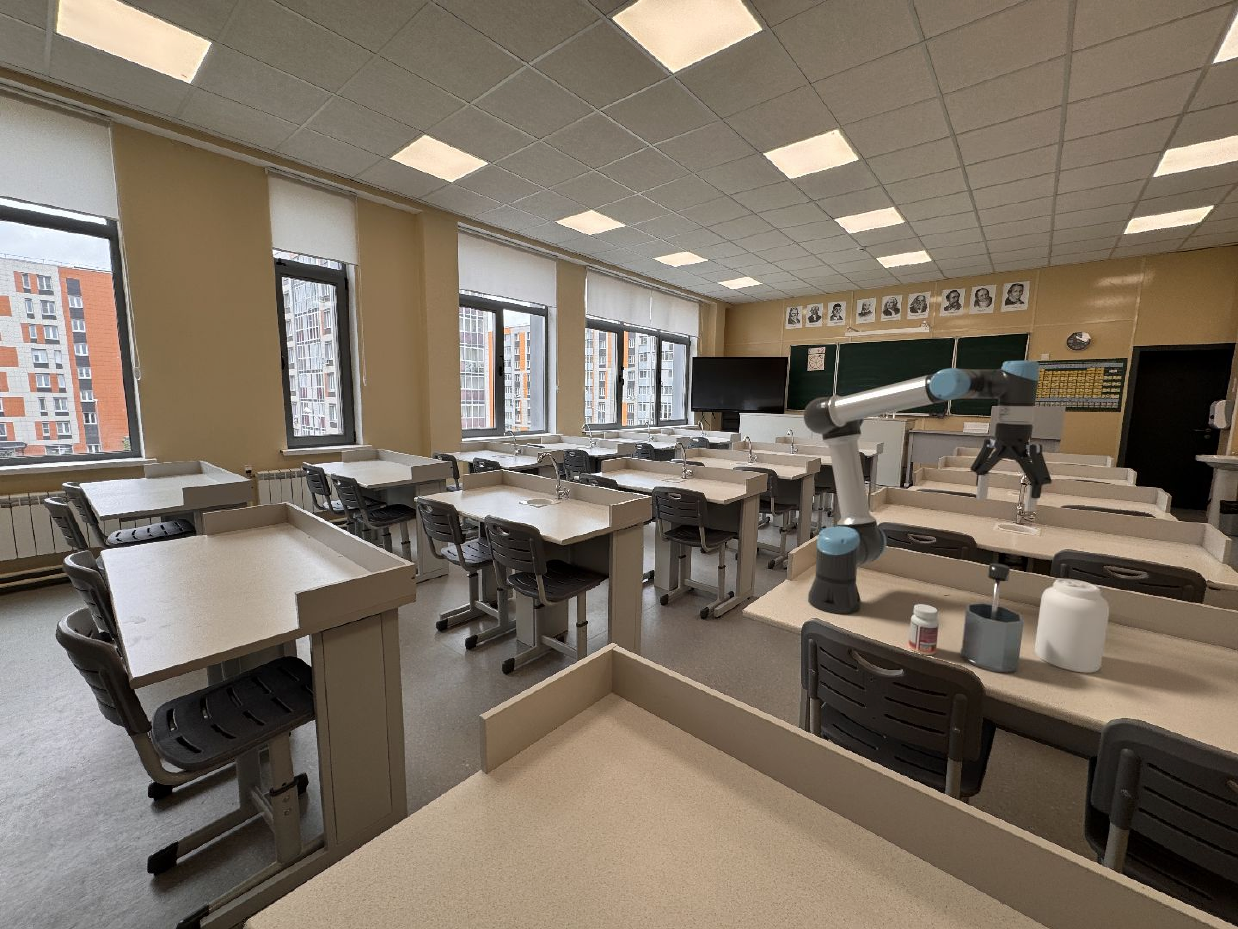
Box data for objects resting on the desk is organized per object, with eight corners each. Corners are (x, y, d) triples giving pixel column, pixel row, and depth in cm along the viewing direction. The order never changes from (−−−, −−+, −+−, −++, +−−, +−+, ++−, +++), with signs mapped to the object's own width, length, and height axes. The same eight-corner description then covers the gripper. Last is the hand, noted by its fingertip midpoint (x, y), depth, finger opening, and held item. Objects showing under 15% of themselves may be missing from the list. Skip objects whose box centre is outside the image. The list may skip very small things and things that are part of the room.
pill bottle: (940, 651, 134) (944, 609, 132) (928, 658, 130) (932, 615, 129) (916, 641, 139) (919, 601, 137) (903, 648, 135) (907, 606, 134)
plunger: (960, 648, 132) (969, 561, 129) (987, 644, 134) (998, 559, 131) (990, 665, 124) (1001, 573, 121) (1018, 661, 126) (1030, 571, 122)
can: (1031, 661, 129) (1041, 584, 126) (1036, 642, 138) (1046, 570, 135) (1099, 680, 121) (1112, 598, 118) (1100, 659, 130) (1112, 583, 127)
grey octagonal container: (949, 651, 134) (954, 605, 132) (994, 645, 137) (999, 600, 135) (989, 675, 123) (995, 625, 121) (1038, 669, 126) (1044, 620, 124)
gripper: (960, 419, 144) (952, 495, 147) (1052, 427, 120) (1040, 517, 123) (983, 419, 145) (974, 493, 149) (1078, 426, 121) (1066, 515, 124)
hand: (1004, 504), depth 136 cm, fingers open, 13 cm apart
